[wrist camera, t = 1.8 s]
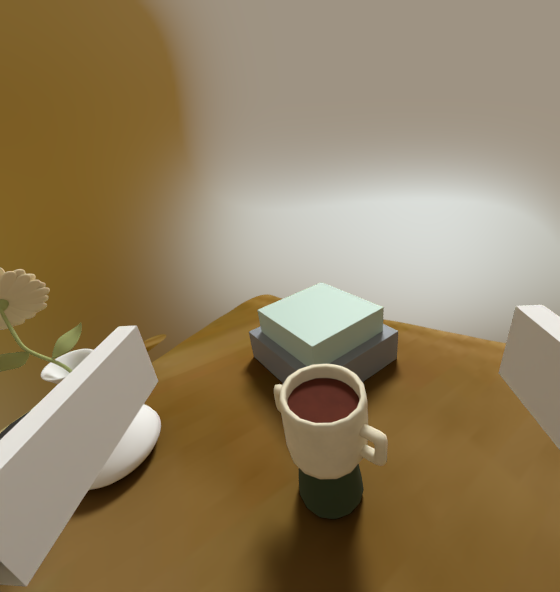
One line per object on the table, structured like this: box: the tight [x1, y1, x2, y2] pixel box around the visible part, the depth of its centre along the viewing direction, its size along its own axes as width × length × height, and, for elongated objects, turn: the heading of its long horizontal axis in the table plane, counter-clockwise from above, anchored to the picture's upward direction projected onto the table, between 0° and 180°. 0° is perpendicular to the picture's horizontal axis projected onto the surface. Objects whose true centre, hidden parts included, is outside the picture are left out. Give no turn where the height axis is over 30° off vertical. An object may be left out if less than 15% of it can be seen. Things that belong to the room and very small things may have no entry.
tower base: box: [249, 282, 398, 383], centre depth 47 cm, size 16×16×9 cm
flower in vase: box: [0, 268, 161, 490], centre depth 32 cm, size 13×11×25 cm
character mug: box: [274, 364, 387, 519], centre depth 28 cm, size 11×7×13 cm, turn 51°
